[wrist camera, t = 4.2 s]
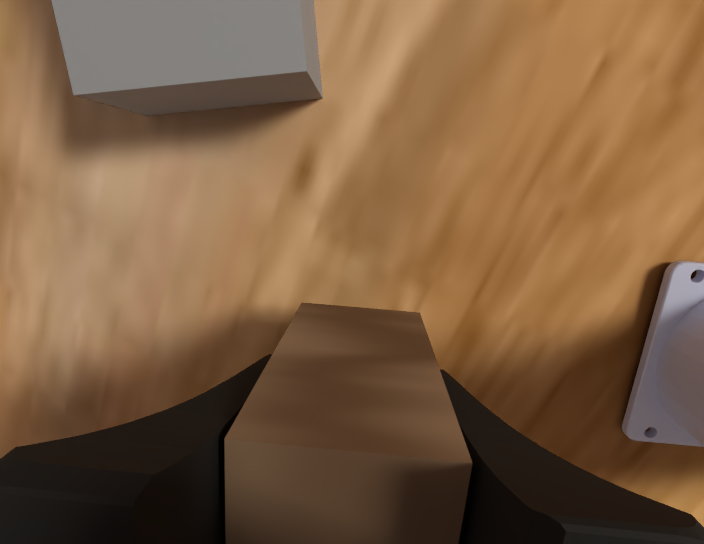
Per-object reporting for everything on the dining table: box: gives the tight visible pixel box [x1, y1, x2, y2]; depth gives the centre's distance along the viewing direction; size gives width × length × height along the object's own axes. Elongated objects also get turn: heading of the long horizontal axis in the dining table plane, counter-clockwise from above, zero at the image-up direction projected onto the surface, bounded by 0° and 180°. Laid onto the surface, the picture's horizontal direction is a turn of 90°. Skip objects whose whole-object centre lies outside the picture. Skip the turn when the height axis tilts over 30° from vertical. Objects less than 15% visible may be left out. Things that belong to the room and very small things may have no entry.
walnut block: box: [224, 303, 472, 544], centre depth 10 cm, size 4×4×7 cm
